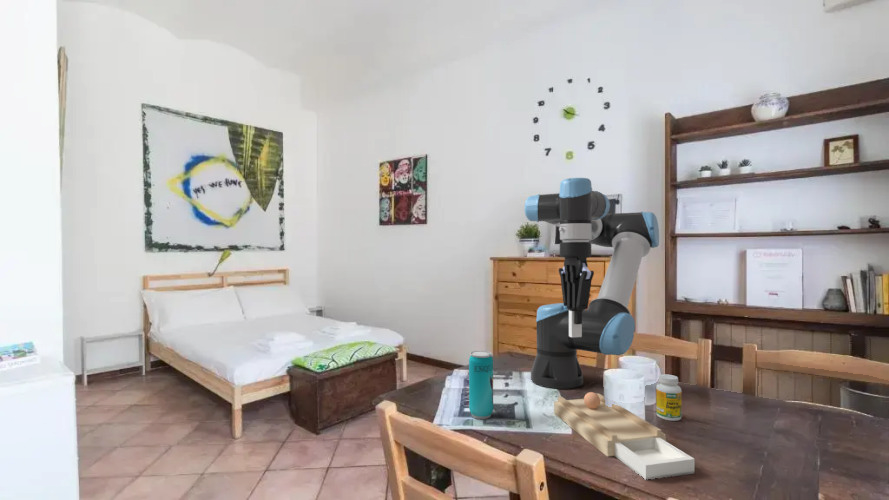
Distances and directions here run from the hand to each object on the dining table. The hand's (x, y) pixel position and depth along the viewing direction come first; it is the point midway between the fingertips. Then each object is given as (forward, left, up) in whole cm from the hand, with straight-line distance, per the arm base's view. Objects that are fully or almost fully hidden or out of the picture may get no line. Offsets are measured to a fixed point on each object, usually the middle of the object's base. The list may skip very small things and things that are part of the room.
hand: (575, 336), depth 108 cm
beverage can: (-2, -24, -18) cm, 30 cm away
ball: (+7, 0, -13) cm, 15 cm away
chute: (+12, 0, -18) cm, 22 cm away
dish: (+27, 0, -18) cm, 33 cm away
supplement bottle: (+9, +19, -18) cm, 28 cm away
